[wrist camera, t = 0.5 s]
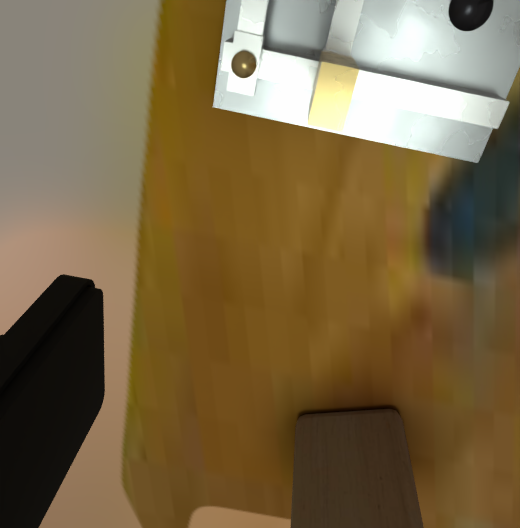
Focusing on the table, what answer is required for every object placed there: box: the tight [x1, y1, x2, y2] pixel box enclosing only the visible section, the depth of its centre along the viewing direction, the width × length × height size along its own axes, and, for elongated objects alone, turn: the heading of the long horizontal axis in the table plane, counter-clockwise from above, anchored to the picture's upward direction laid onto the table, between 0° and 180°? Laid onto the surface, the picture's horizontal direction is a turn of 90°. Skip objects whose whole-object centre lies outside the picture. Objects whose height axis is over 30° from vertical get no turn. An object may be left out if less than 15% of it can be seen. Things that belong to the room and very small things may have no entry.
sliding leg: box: [307, 0, 364, 132], centre depth 25 cm, size 8×2×8 cm, turn 170°
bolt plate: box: [213, 0, 520, 163], centre depth 28 cm, size 12×18×5 cm, turn 80°
